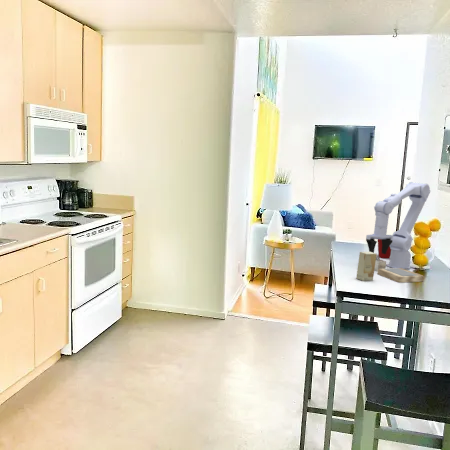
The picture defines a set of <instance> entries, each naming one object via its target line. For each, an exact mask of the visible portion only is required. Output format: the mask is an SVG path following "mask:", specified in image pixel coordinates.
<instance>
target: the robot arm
mask: <svg viewBox="0 0 450 450" xmlns="http://www.w3.org/2000/svg"><path fill="white" fill-rule="evenodd" d="M430 193H431V188H430V185H429V184H428V183H420V182H413V181H410V182H409V183H407V184H405V187H404V188H403V189H401V190H400V191H399V192H398V193H391V194H390V195H389V196H388V197H386V198H384V199H383V200H379V201H377V202H376V203H375V206H373V208H374V212H375V215H374V216H375V220H374V221H375V222H374V223H375V224H374V230H373V233H371V234H366V236H365V242H366V245H367V247H368V252H373V253H375V250H376V249H375V248H376V244H378V239H381V240H382V254H386V252H387V250H388V248H389V246H390V249H391V255H390V258H389V263H386V266H387V267H389V268H402V269H405V270H408V269H411V267H410V264H411V257H412V255H411V252H410V251H409V250H410V249H411V247H412V242H413V240H414V239H413V238H414V237H412V235H411V234H412V231H413V228H414V226H415V224H416V222H417V221H418V218H419V216H420V214H421V212H422V210H423V208H424V206H425V203H426V202H427V199H428V198H429V196H430ZM406 198H409V200H410V201H411V205H410V206H409V209H408V211H407V213H406V215H405V218H404V220H403V222H402V224H401V225H400V228H399V229H398V230H397V231H394V232H393V233H392V234H387V233H388V224H389V216H390V214H392V212H393V210H394V209H395V208H396V207H397V206H399V205H400V204H401V203H402V200H404V199H406Z"/></svg>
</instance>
